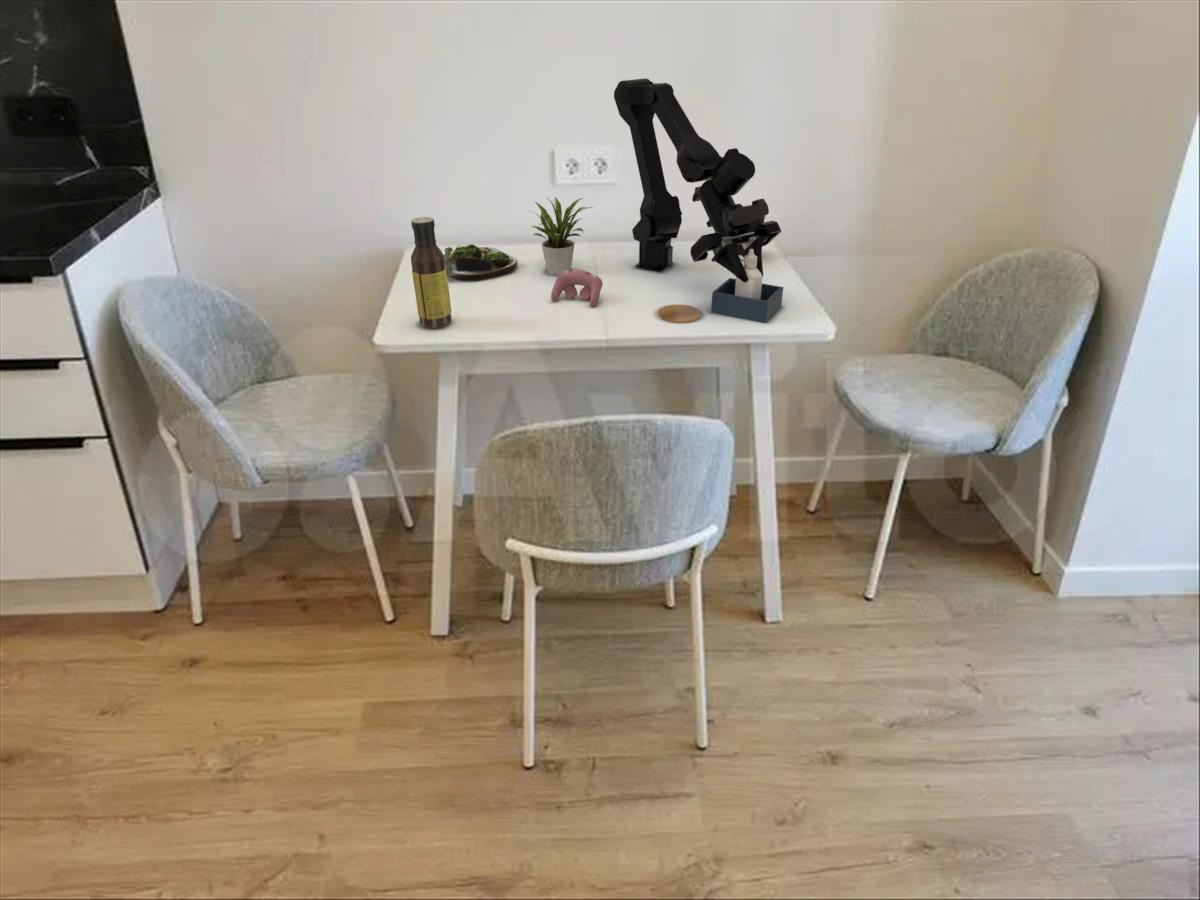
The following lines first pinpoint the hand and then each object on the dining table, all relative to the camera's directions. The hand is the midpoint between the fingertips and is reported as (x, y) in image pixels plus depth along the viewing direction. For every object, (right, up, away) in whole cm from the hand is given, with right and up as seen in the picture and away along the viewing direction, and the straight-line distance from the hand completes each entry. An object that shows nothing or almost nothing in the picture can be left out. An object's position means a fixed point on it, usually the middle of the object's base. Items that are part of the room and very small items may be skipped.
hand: (753, 279), depth 169 cm
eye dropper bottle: (-1, -5, +4) cm, 7 cm away
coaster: (-14, -6, +2) cm, 16 cm away
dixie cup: (+4, +11, +32) cm, 34 cm away
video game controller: (-34, -3, +9) cm, 35 cm away
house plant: (-37, +6, +24) cm, 45 cm away
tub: (-1, -5, +4) cm, 7 cm away
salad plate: (-57, +7, +26) cm, 63 cm away
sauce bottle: (-61, -9, -1) cm, 62 cm away
